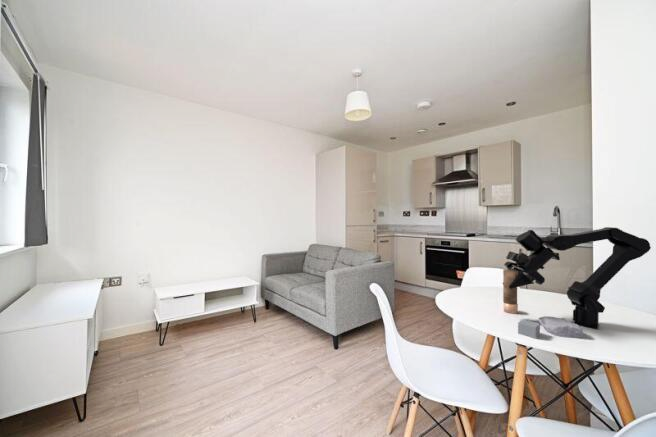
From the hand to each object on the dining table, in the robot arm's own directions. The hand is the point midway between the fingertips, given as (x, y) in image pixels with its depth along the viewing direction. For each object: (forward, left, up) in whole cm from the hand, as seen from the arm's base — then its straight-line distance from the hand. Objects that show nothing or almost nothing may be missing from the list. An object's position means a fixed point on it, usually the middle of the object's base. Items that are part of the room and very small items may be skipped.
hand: (506, 286), depth 106 cm
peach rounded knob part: (+1, -11, -13) cm, 17 cm away
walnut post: (-1, -1, -7) cm, 7 cm away
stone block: (-15, -2, -14) cm, 21 cm away
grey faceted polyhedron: (-10, +10, -13) cm, 19 cm away
